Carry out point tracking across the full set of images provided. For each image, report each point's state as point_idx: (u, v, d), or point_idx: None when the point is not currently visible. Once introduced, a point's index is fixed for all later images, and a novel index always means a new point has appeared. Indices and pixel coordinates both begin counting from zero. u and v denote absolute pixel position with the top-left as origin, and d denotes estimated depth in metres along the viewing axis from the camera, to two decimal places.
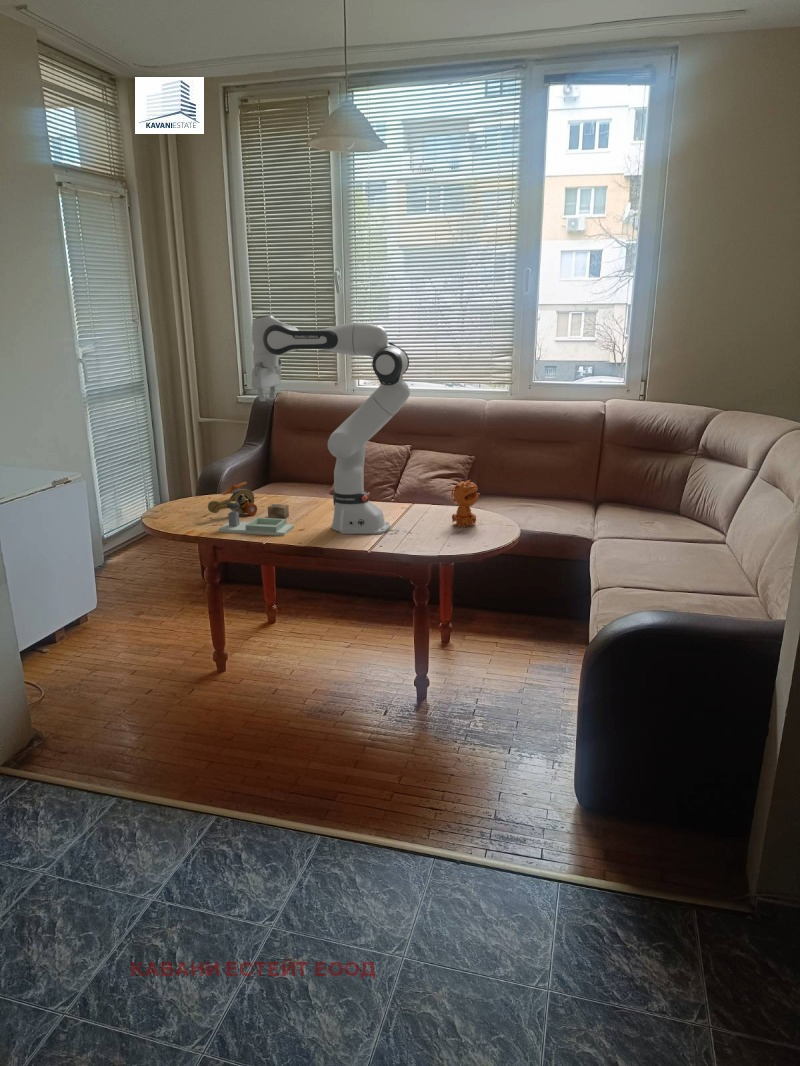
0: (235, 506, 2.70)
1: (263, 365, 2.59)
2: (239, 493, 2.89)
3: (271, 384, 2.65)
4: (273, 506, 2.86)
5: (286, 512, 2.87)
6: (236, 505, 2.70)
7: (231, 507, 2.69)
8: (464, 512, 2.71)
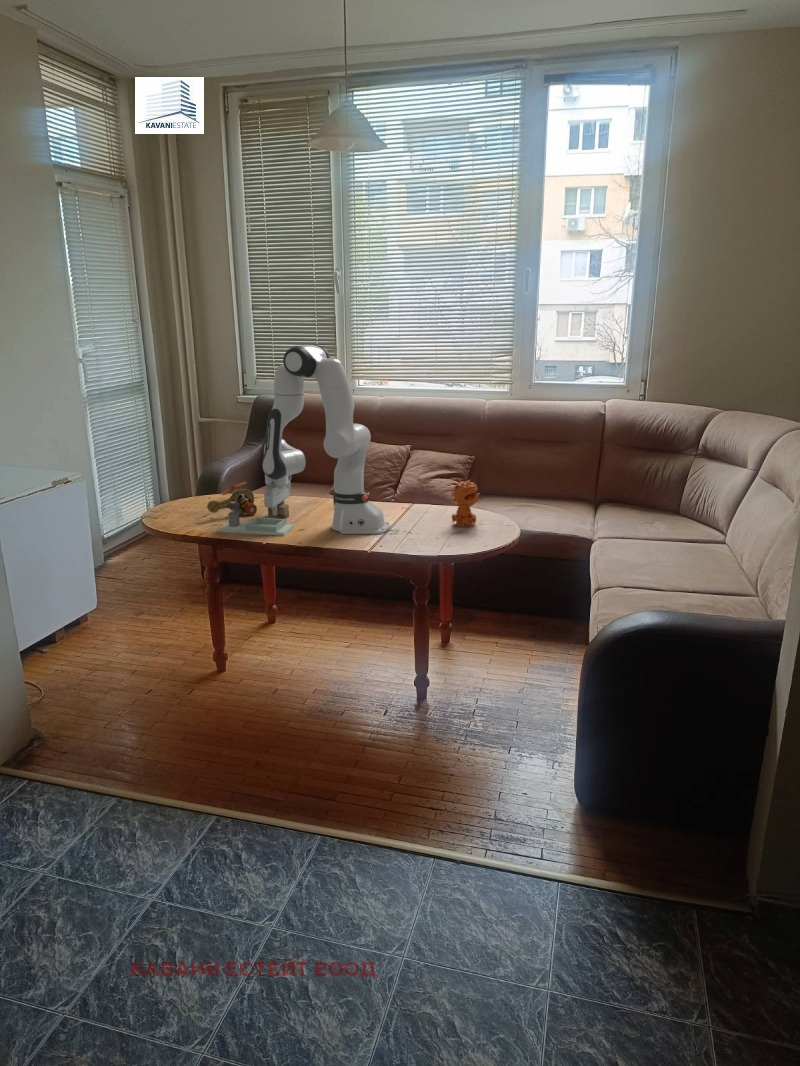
0: (235, 506, 2.70)
1: (274, 484, 2.80)
2: (239, 493, 2.89)
3: (281, 499, 2.86)
4: None
5: (286, 512, 2.87)
6: (236, 505, 2.70)
7: (231, 507, 2.69)
8: (464, 512, 2.71)
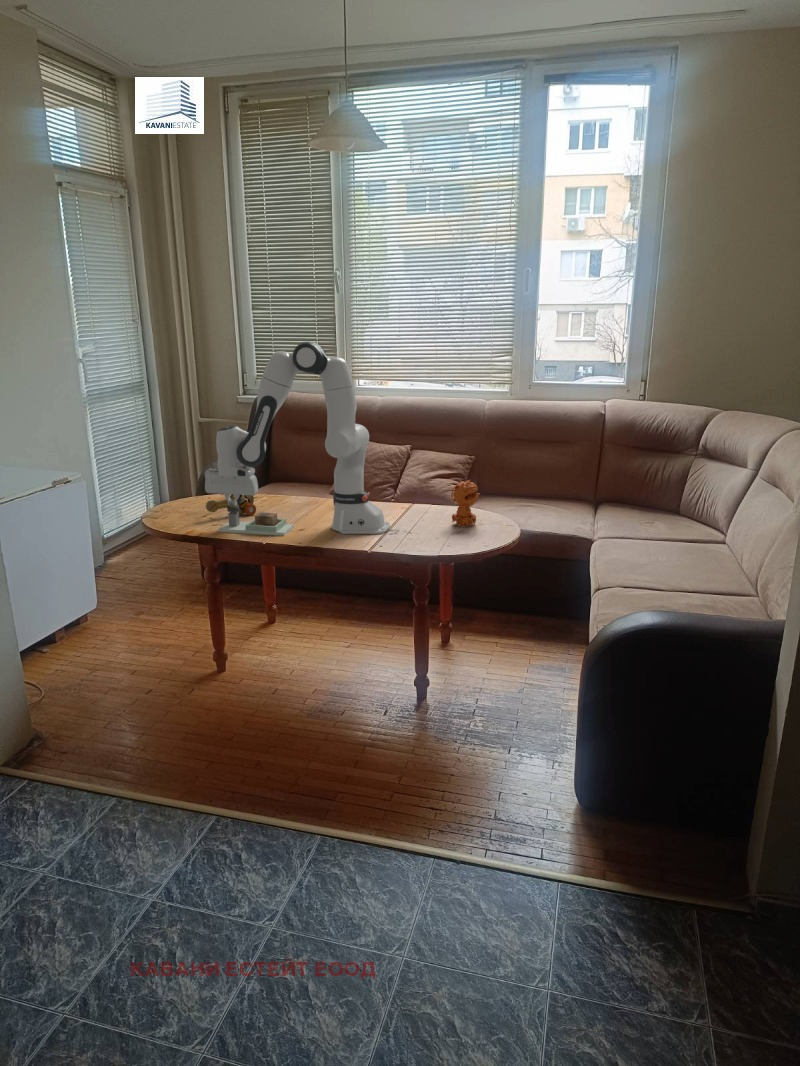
0: (235, 509, 2.70)
1: None
2: None
3: (229, 492, 2.68)
4: (261, 515, 2.69)
5: (274, 521, 2.70)
6: (236, 508, 2.70)
7: (231, 510, 2.70)
8: (464, 512, 2.71)
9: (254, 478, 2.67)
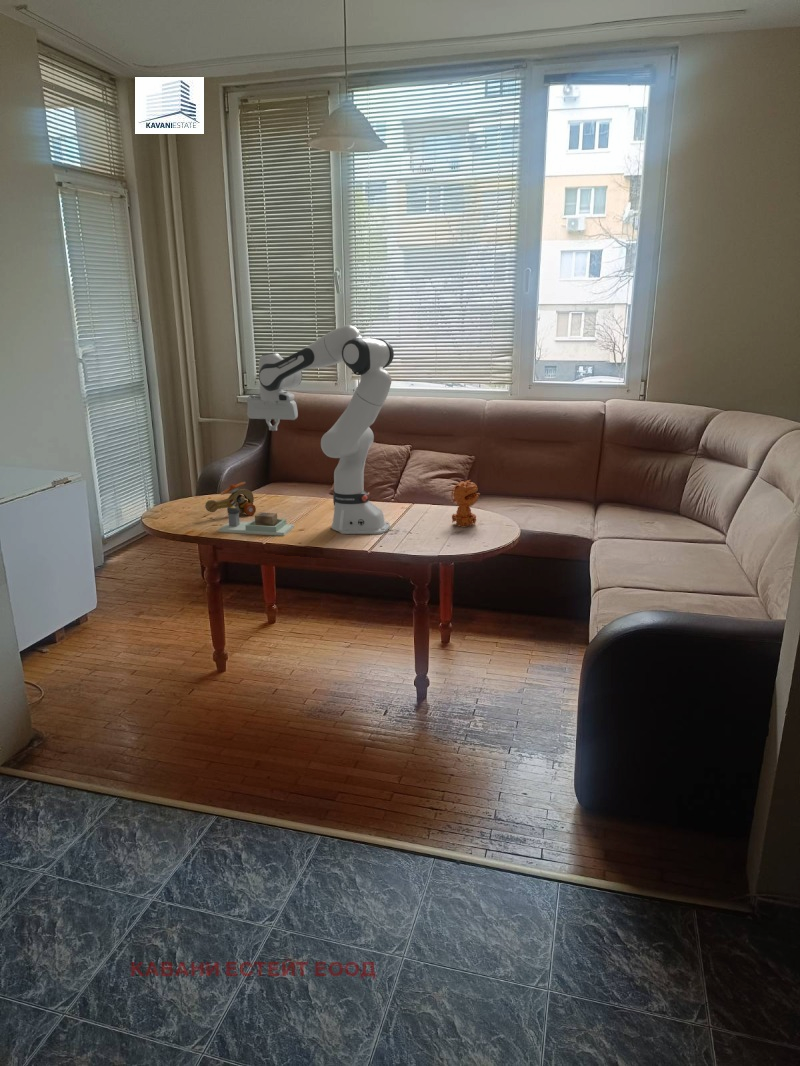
0: (235, 511, 2.70)
1: None
2: (238, 493, 2.89)
3: (271, 416, 2.82)
4: (261, 515, 2.69)
5: (274, 521, 2.70)
6: (236, 510, 2.70)
7: (231, 512, 2.70)
8: (464, 512, 2.71)
9: (294, 403, 2.81)
